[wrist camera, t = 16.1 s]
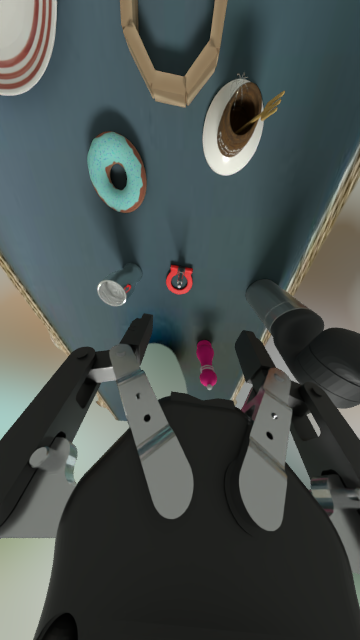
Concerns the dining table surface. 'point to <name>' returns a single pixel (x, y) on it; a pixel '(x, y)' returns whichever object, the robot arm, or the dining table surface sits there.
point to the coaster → (210, 130)
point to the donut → (100, 161)
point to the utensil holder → (242, 117)
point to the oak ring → (167, 84)
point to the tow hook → (179, 278)
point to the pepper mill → (206, 363)
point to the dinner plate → (25, 42)
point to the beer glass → (119, 285)
